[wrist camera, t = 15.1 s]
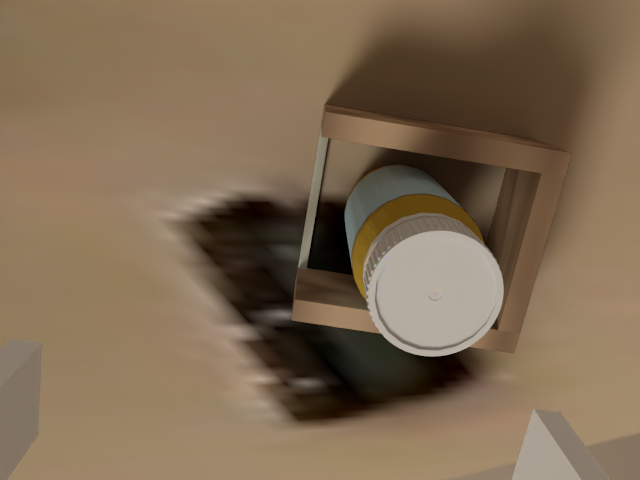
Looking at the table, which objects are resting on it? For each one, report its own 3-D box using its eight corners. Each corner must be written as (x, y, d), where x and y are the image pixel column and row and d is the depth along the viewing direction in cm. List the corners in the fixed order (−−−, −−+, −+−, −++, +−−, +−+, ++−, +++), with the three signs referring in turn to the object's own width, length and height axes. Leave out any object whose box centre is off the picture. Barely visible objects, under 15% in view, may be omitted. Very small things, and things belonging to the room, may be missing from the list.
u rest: (295, 284, 42) (291, 320, 36) (324, 104, 39) (325, 112, 33) (488, 314, 43) (514, 353, 37) (534, 139, 39) (572, 153, 34)
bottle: (424, 146, 39) (484, 194, 25) (459, 238, 41) (534, 332, 27) (328, 187, 40) (333, 256, 26) (366, 275, 42) (391, 386, 28)
